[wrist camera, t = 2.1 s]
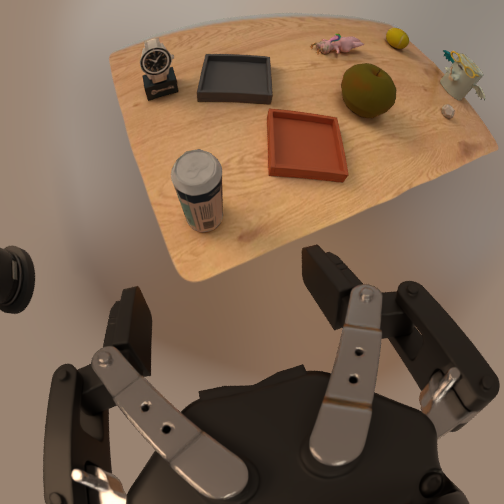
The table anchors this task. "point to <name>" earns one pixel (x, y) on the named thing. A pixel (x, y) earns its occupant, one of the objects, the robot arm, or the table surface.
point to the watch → (157, 70)
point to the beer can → (199, 189)
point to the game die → (448, 111)
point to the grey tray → (235, 79)
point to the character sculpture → (461, 76)
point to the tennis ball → (397, 38)
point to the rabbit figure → (337, 44)
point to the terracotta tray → (305, 146)
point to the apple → (368, 90)
